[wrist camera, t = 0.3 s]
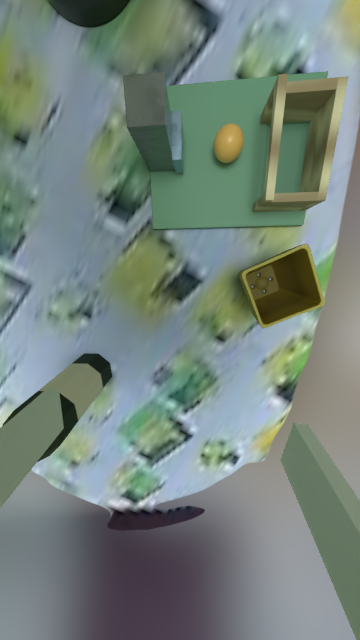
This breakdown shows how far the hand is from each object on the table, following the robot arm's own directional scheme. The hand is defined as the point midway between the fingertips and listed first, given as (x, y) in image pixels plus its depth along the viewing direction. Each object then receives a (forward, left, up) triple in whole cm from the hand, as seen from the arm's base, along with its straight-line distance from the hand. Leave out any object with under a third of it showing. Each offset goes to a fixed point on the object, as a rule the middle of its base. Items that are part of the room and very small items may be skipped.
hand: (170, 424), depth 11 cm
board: (-23, +6, -27) cm, 36 cm away
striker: (-24, -3, -26) cm, 35 cm away
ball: (-24, +5, -24) cm, 34 cm away
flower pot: (-5, +13, -27) cm, 30 cm away
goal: (-22, +14, -27) cm, 38 cm away
